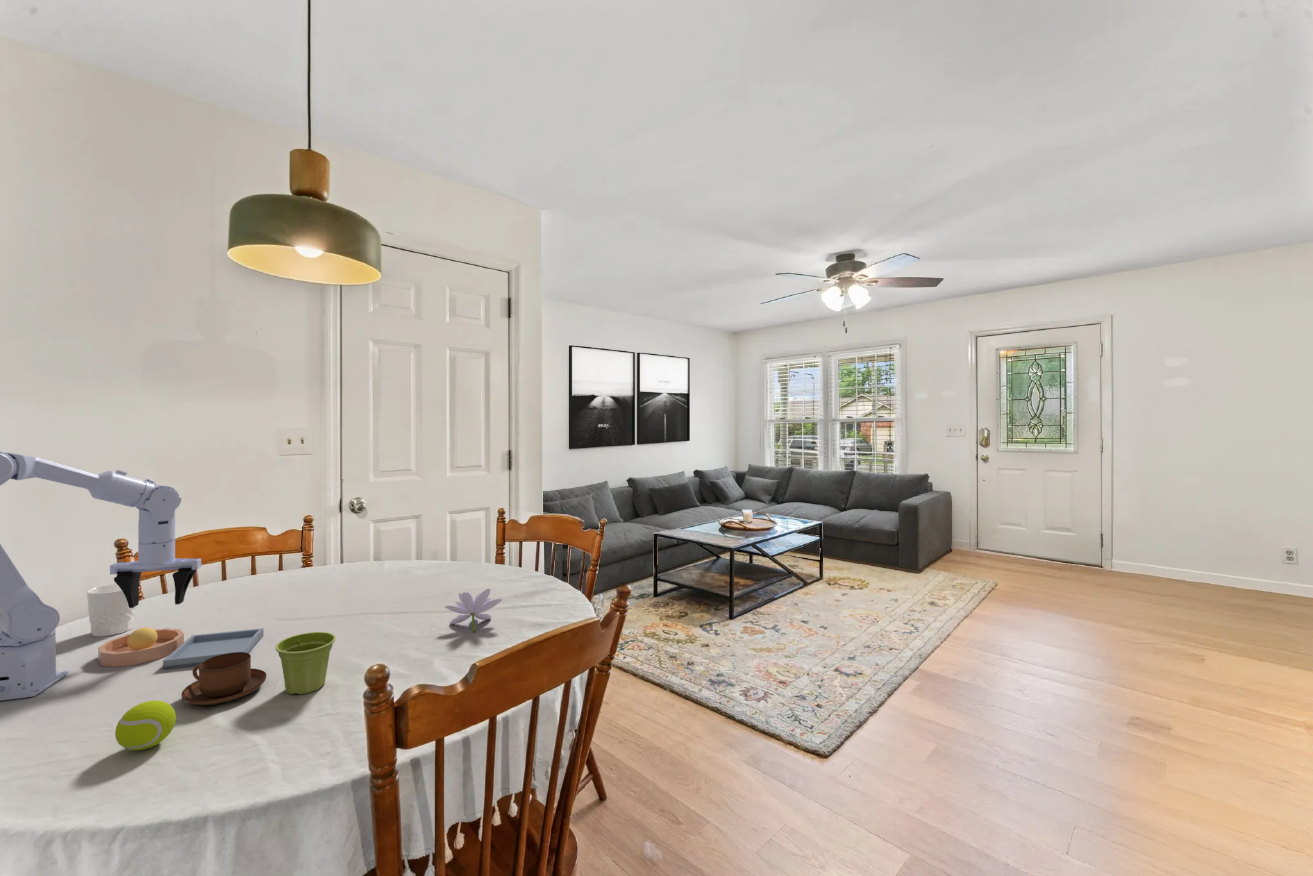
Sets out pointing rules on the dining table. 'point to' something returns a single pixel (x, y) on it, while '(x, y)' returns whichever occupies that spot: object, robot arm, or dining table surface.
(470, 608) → the water lily
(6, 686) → the robot arm
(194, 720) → the dining table surface
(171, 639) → the bowl
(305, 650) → the plant pot
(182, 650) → the tray
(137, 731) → the tennis ball
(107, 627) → the white cup
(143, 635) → the ball
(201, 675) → the cup and saucer
